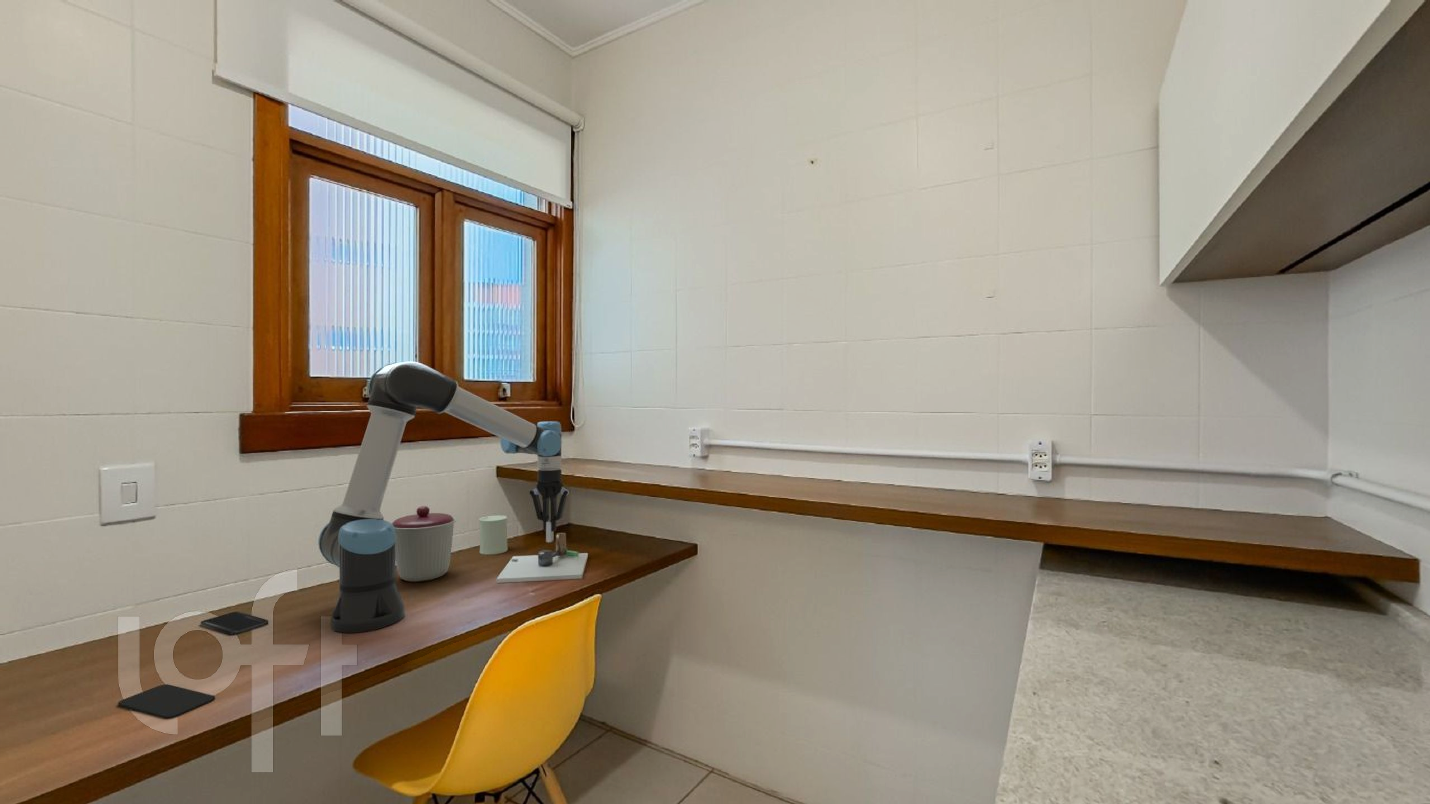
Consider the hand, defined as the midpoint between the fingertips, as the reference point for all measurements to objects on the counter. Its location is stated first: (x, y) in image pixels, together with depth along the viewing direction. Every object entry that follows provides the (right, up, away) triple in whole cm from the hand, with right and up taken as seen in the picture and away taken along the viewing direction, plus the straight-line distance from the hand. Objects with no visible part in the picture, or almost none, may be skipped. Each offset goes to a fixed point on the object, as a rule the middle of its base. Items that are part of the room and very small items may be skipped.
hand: (549, 541), depth 193 cm
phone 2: (-60, -8, -52) cm, 80 cm away
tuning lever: (+3, -5, -5) cm, 7 cm away
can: (-23, -7, +13) cm, 27 cm away
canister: (-33, -7, -16) cm, 38 cm away
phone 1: (-43, -8, -88) cm, 99 cm away
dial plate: (+1, -6, -9) cm, 11 cm away
